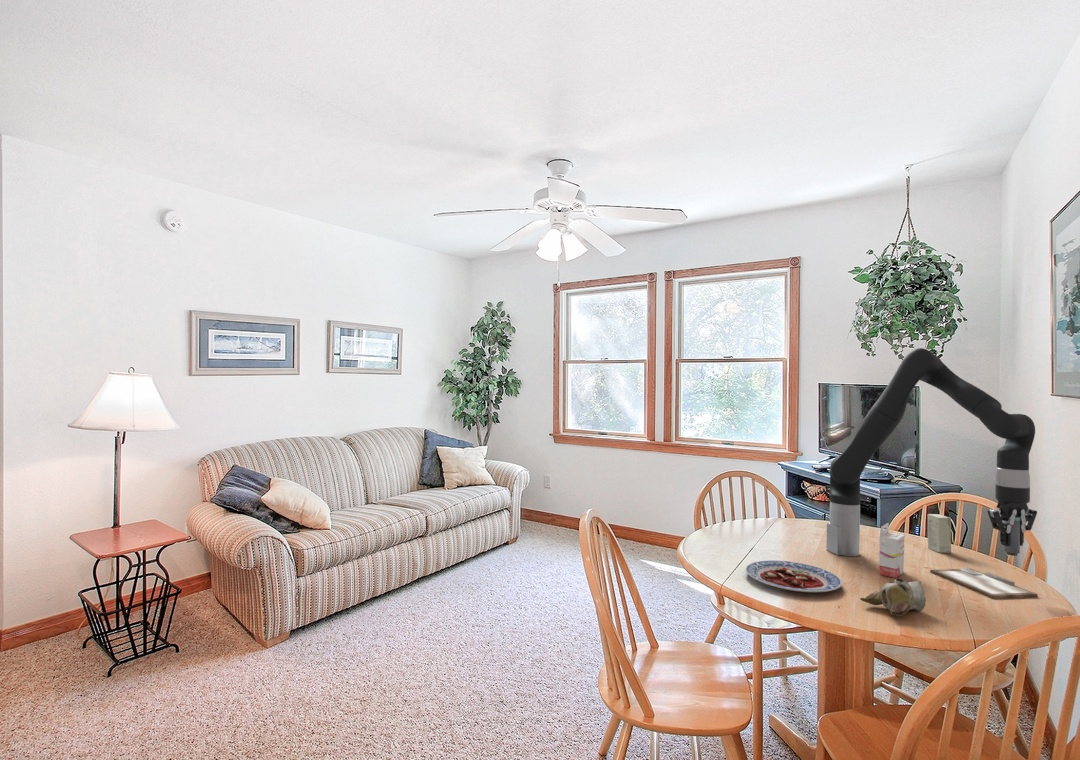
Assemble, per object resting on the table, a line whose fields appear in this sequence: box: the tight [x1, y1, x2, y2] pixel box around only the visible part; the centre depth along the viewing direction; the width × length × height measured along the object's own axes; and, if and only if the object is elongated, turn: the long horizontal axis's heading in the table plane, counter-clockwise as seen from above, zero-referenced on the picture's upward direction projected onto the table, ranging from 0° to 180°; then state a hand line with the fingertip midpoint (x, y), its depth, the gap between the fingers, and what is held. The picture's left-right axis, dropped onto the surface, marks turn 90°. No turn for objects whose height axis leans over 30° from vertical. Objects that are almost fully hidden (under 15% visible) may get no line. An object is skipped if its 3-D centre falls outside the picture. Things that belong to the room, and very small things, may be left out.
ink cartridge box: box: [878, 522, 905, 579], centre depth 173 cm, size 9×5×15 cm, turn 134°
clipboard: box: [929, 568, 1039, 599], centre depth 165 cm, size 14×21×2 cm, turn 7°
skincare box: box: [927, 513, 952, 554], centre depth 198 cm, size 6×4×12 cm
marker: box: [1003, 517, 1021, 557], centre depth 159 cm, size 4×4×11 cm
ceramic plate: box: [745, 560, 843, 593], centre depth 165 cm, size 26×26×3 cm
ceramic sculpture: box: [859, 577, 927, 617], centre depth 144 cm, size 11×9×15 cm
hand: (1011, 545), depth 159 cm, fingers closed on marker, 3 cm apart
